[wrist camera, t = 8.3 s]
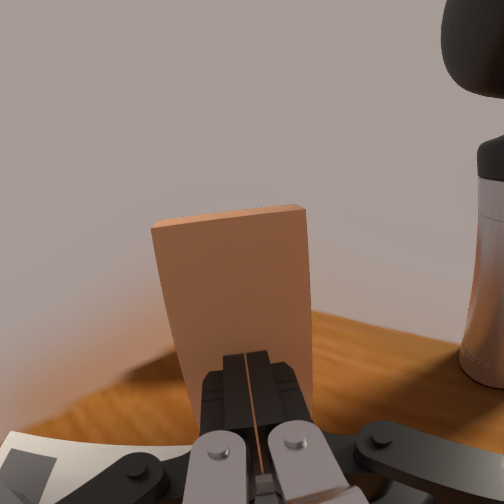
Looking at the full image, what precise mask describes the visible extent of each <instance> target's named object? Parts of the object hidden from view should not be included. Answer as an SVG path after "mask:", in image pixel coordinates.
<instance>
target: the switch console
mask: <svg viewBox="0 0 504 504" xmlns="http://www.w3.org/2000/svg"><path fill="white" fill-rule="evenodd" d="M191 448H192V445H186V446H125V445H107V444H94V443H83V442H74V441H66V440H59V439H52V438H46V437H40V436H34V435H29V434H24V433H19V432H14V431H10V433H9V434H8V436H7V438H6V439H5V441H4V443H3V444H2V446H1V448H0V479H1V481H2V482H3V483H4V484H5V485H6V486H7V487H8V488H9V489H10V490H13V491H16V492H19V493H22V494H24V495H25V496H26V497H27V498H28V499H29V500H30V501H31V502H32V503H33V504H55V503H56V502H58V501H59V500H61V499H62V498H64V497H65V496H67V495H68V494H70V493H71V492H73V491H74V490H76V489H77V488H79V487H80V486H82V485H83V484H85V483H86V482H88V481H89V480H90V479H92V478H93V477H95V476H96V475H98V474H99V473H100V472H102V471H103V470H105V469H106V468H107V467H109V466H110V465H112V464H113V463H114V462H116V461H117V460H118V459H120V458H121V457H123V456H125V455H127V454H130V453H134V452H146V453H150V454H152V455H154V456H156V457H157V458H158V459H159V460H160V461H164V460H168V459H172V458H175V457H178V456H181V455H183V454H186V453H187V452H189V451H190V450H191ZM256 501H257V504H277V502H276V498H275V494H274V492H270V493H263V494H256Z"/></svg>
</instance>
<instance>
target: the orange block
mask: <svg viewBox="0 0 504 504" xmlns="http://www.w3.org/2000/svg"><path fill="white" fill-rule="evenodd" d="M151 233H152V239H153V244H154V250H155V256H156V261H157V266H158V271H159V277H160V282H161V286H162V292H163V296H164V301H165V306H166V310H167V314H168V319H169V323H170V328H171V332H172V336H173V340H174V344H175V348H176V352H177V356H178V360H179V364H180V367H181V371H182V375H183V378H184V382H185V386H186V389H187V393H188V396H189V399H190V403H191V406H192V410H193V413H194V416H195V419H196V423H197V426H198V429H199V432H200V415H201V403H202V402H201V397H202V381H203V380H204V378H205V377H206V375H207V374H208V372H209V371H218V370H223V355H232V354H240V353H244V358H245V365H246V372H247V379H248V385H249V392H250V399H251V406H252V413H253V420H254V426H255V433H256V440H257V446H258V453H259V459H260V466H261V472H262V475H259V476H255V479H256V486H257V493H256V494H263V493H270V492H274V487H273V481H272V476H271V474H265V475H264V470H263V464H262V458H261V452H260V446H259V439H258V433H257V427H256V420H255V414H254V407H253V400H252V394H251V387H250V380H249V373H248V366H247V358H246V353H247V352H255V351H262V350H267V352H268V356H269V360H270V364H272V363H278V362H285V363H287V364H288V365H289V366H290V367H291V368H293V369H294V372H295V375H296V377H297V381H298V383H299V386H300V390H301V391H302V394H303V397H304V400H305V402H306V405H307V408H308V411H309V413H310V416H311V419H312V324H311V295H310V272H309V255H308V237H307V223H306V210H305V209H304V208H302V207H300V206H298V205H296V204H290V205H281V206H271V207H264V208H263V207H262V208H254V209H245V210H237V211H228V212H221V213H212V214H205V215H197V216H190V217H183V218H175V219H168V220H161V221H158V222H157V223H156V224H155V225H154V226H153V227H152V228H151Z"/></svg>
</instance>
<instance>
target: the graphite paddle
mask: <svg viewBox="0 0 504 504" xmlns="http://www.w3.org/2000/svg"><path fill="white" fill-rule="evenodd" d="M0 504H33V503H32V502H31V501H30V500H29V499H28V498H27V497H26V496H25V495H24V494H22V493H19V492H16V491H13V490H10V489H9V488H8V487H7V486H6V485H5V484H4V483H3V482H2V481H1V479H0Z"/></svg>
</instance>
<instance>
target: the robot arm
mask: <svg viewBox="0 0 504 504" xmlns="http://www.w3.org/2000/svg"><path fill="white" fill-rule="evenodd" d="M441 50H442V55H443V60H444V63H445V66H446V69H447V71H448V73H449V74H450V76H451V77H452V79H453V80H454V81H455V82H456V83H457V84H458V85H459V86H460V87H462V88H464V89H465V90H467V91H470V92H472V93H475V94H478V95H482V96H486V97H494V98H500V99H504V0H447V2H446V5H445V9H444V13H443V20H442V26H441ZM477 167H478V176H480V177H478V228H477V229H478V230H477V245H476V257H475V266H474V275H473V283H472V290H471V297H470V303H469V309H468V314H467V319H466V325H465V330H464V334H463V339H462V343H461V348H460V352H459V362H460V365H461V367H462V368H463V370H464V371H465V372H466V373H467V374H468V375H469V376H470V377H471V378H473V379H474V380H476V381H478V382H479V383H481V384H484V385H487V386H490V387H495V388H504V135H503V136H500V137H498V138H495V139H492V140H489V141H486V142H484V143H482V144H481V145H480V147H479V149H478V151H477ZM246 358H247V366H248V373H249V380H250V387H251V394H252V400H253V407H254V414H255V420H256V427H257V433H258V439H259V446H260V452H261V458H262V464H263V470H264V475H265V474H271V476H272V481H273V487H274V494H275V498H276V502H277V504H504V455H502V454H498V453H494V452H490V451H486V450H482V449H478V448H474V447H471V446H467V445H463V444H460V443H457V442H453V441H450V440H446V439H443V438H440V437H437V436H434V435H431V434H427V433H424V432H421V431H418V430H415V429H412V428H410V427H407V426H404V425H401V424H398V423H395V422H392V421H386V420H381V421H374V422H371V423H369V424H367V425H365V426H363V427H362V428H361V429H360V430H359V432H358V433H357V435H335V434H330V433H327V432H324V431H322V430H321V429H319V428H318V427H317V426H316V425H315V424H314V423H313V421H312V419H311V416H310V413H309V411H308V408H307V405H306V402H305V400H304V397H303V394H302V391H301V390H300V386H299V383H298V381H297V377H296V375H295V372H294V369H293V368H291V367H290V366H289V365H288V364H287V363H285V362H278V363H272V364H270V360H269V356H268V352H267V350H262V351H255V352H247V353H246ZM201 402H202V403H201V415H200V435H199V438H198V439H197V440H196V441H195V442H194V443H193V445H192V448H191V450H190V451H189V452H187V453H186V454H183V455H181V456H178V457H175V458H172V459H168V460H164V461H160V460H159V459H158V458H157V457H156V456H154V455H152V454H150V453H146V452H134V453H130V454H127V455H125V456H123V457H121V458H120V459H118V460H117V461H116V462H114V463H113V464H112V465H110V466H109V467H107V468H106V469H105V470H103V471H102V472H100V473H99V474H98V475H96V476H95V477H93V478H92V479H90V480H89V481H88V482H86V483H85V484H83V485H82V486H80V487H79V488H77V489H76V490H74V491H73V492H71V493H70V494H68V495H67V496H65V497H64V498H62V499H61V500H59V501H58V502H56V503H55V504H257V501H256V493H257V486H256V479H255V476H259V475H262V472H261V466H260V459H259V453H258V446H257V440H256V433H255V426H254V420H253V413H252V406H251V399H250V392H249V385H248V379H247V372H246V365H245V358H244V353H240V354H232V355H223V370H218V371H209V372H208V374H207V375H206V377H205V378H204V380H203V381H202V397H201Z"/></svg>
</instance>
